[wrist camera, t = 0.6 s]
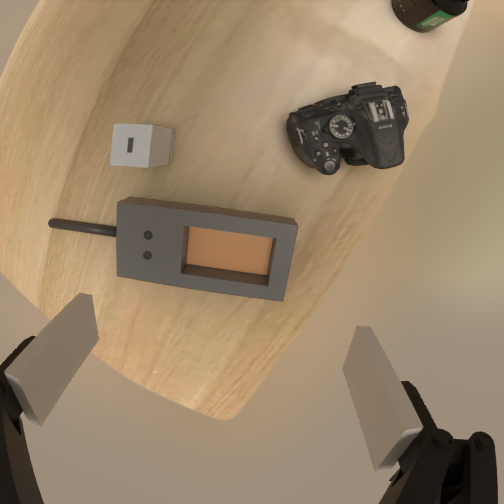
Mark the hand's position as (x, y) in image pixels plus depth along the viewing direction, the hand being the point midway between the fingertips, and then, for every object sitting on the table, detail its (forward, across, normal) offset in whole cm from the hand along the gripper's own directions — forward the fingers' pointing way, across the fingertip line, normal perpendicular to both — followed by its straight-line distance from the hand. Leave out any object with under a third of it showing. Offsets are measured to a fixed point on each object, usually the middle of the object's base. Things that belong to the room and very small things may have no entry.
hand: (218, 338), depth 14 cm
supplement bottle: (+23, +19, +32) cm, 44 cm away
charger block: (+23, -11, +8) cm, 27 cm away
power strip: (+23, -10, -3) cm, 25 cm away
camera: (+23, +10, +12) cm, 28 cm away
